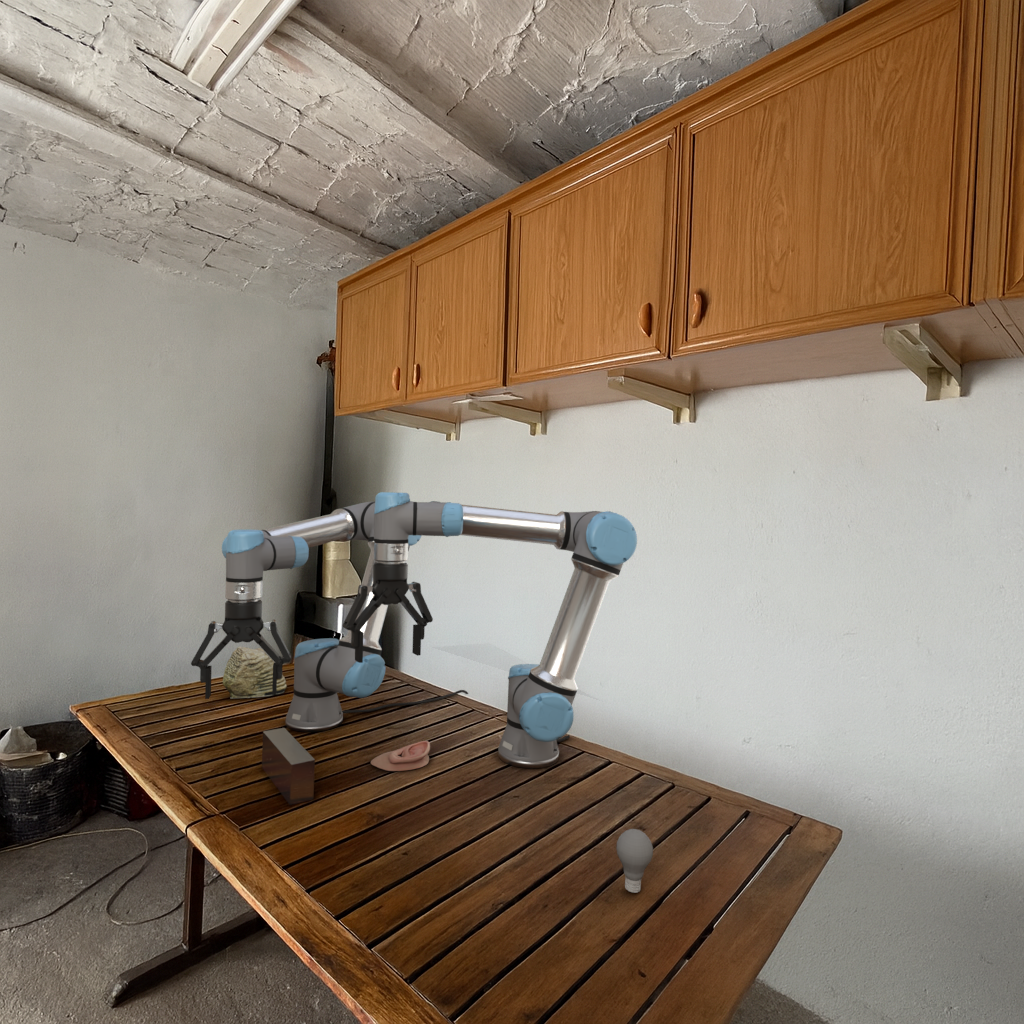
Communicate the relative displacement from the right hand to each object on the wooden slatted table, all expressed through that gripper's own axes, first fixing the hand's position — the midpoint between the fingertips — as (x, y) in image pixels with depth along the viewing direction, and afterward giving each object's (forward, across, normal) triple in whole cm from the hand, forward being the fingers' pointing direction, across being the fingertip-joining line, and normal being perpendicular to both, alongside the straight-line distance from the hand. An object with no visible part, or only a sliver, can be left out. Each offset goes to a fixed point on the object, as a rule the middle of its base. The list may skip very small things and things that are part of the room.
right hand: (388, 657), depth 140 cm
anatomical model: (+28, +8, +9) cm, 31 cm away
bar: (+28, -19, +11) cm, 35 cm away
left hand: (+9, -27, +18) cm, 34 cm away
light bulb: (+29, +21, -56) cm, 66 cm away
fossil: (+28, -12, +77) cm, 82 cm away
